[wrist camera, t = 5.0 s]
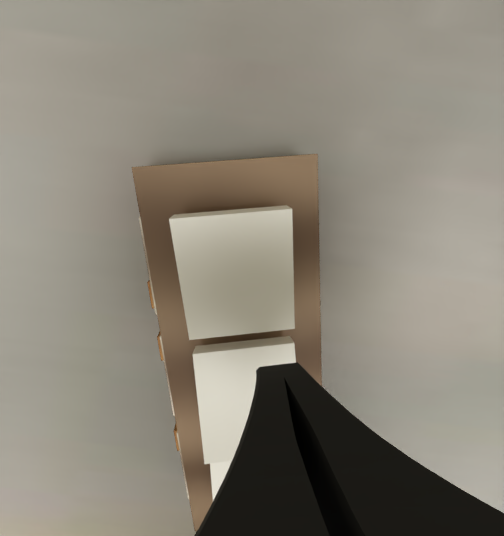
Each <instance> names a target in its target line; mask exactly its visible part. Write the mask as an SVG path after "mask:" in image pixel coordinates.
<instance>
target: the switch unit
mask: <svg viewBox="0 0 504 536" xmlns="http://www.w3.org/2000/svg"><path fill="white" fill-rule="evenodd" d="M132 172H133V178H134V183H135V189H136V195H137V201H138V206H139V212H140V217H139V222H140V228H141V234H142V239H143V245H144V251H145V256H146V262H147V268H148V274H149V279H150V280H149V281H148V282H147V283H148V288H149V294H150V300H151V305H152V308H155V314H156V315H157V316H158V322H159V327H160V332H159V334H158V336H157V339H158V345H159V350H160V356H161V361H162V360H164V365H165V371H166V376H167V382H168V388H169V393H170V399H171V405H172V411H173V416H174V415H175V419H176V424H175V429H174V435H175V440H176V446H177V451H179V450H180V456H181V462H182V468H183V473H184V479H185V485H186V490H187V496H188V499H189V500H190V506H191V512H192V517H193V523H194V529H195V531H198V529H199V527H200V525H201V523H202V521H203V520H204V518H205V516H206V514H207V512H208V510H209V508H210V506H211V504H212V502H213V497H212V484H211V471H210V464H204V455H203V446H202V437H201V428H200V419H199V409H198V400H197V391H196V382H195V373H194V364H193V352H194V349H195V346H201V345H210V344H219V343H228V342H238V341H247V340H256V339H266V338H275V337H284V336H290V337H291V338H292V340H293V342H294V345H295V357H296V362H298V363H299V364H300V365H301V366H302V367H303V368H304V369H305V370H306V371H307V372H308V373H309V374H310V375H311V376H312V377H313V378H314V379H315V380H316V381H317V382H318V383H319V384H320V385H321V386H322V379H321V323H320V267H319V210H318V154H308V155H295V156H281V157H267V158H253V159H240V160H226V161H212V162H198V163H185V164H171V165H157V166H143V167H132ZM284 205H287V206H289V207H290V208H292V222H293V270H294V317H295V329H288V330H279V331H270V332H260V333H251V334H242V335H232V336H223V337H213V338H204V339H195V340H189V335H188V329H187V323H186V317H185V311H184V305H183V299H182V294H181V288H180V282H179V276H178V270H177V264H176V258H175V252H174V246H173V240H172V234H171V229H170V223H169V218H171V217H172V216H173V215H175V214H187V213H199V212H211V211H223V210H235V209H248V208H260V207H272V206H284Z"/></svg>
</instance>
